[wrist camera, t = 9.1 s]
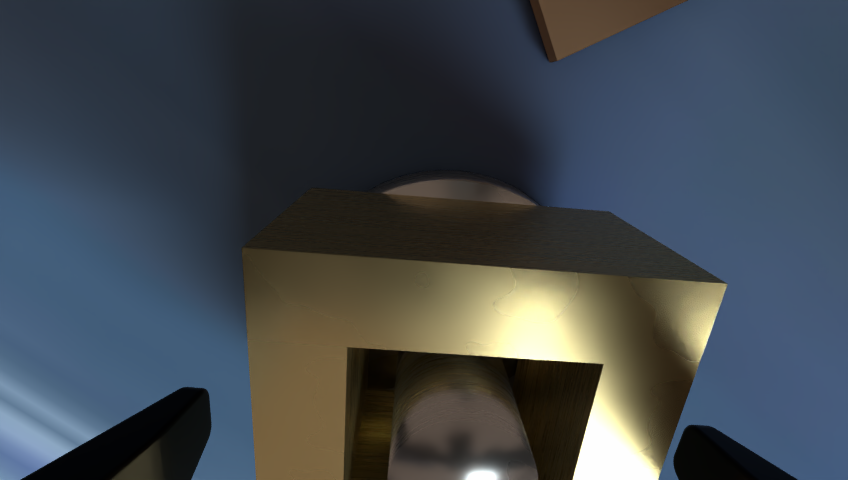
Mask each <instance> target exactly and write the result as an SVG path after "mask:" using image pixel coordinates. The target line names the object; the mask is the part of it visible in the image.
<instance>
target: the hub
mask: <svg viewBox="0 0 848 480" xmlns="http://www.w3.org/2000/svg"><path fill="white" fill-rule="evenodd" d="M367 192H372V193H385V194H397V195H410V196H422V197H435V198H447V199H460V200H472V201H484V202H497V203H509V204H522V205H534V206H540V205H539V204H538V203H536V202H535V201H534V200H533V199H532V198H531V197H529V196H528V195H526V194H524V193H523V192H521V191H520V190H518V189H517V188H515V187H513V186H511V185H509V184H507V183H505V182H502V181H500V180H498V179H495V178H492V177H489V176H485V175H482V174H478V173H472V172H467V171H461V170H432V171H422V172H417V173H412V174H408V175H404V176H400V177H397V178H395V179H392V180H389V181H387V182H384V183H382V184H380V185H378V186H376V187H374V188H372V189H371V190H369V191H367ZM517 362H518V358H505V357H490V356H475V355H460V354H444V353H429V352H414V351H399V350H383V349H369V362H368V383H367V389H383V390H395V393H394V405H393V417H392V430H391V442H390V454H389V467H388V479H387V480H538V473H537V467H536V464H535V461H534V458H533V454H532V451H531V448H530V445H529V442H528V439H527V436H526V432H525V429H524V426H523V423H522V420H521V417H520V413H519V410H518V407H517V404H516V401H515V398H514V395H513V391H512V389H513V384H514V378H515V373H516V368H517Z"/></svg>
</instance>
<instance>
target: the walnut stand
mask: <svg viewBox="0 0 848 480" xmlns="http://www.w3.org/2000/svg"><path fill="white" fill-rule="evenodd" d="M685 1H687V0H530V3H531V6H532V9H533V12H534V15H535V18H536V22H537V25H538V28H539V31H540V34H541V37H542V40H543V43H544V47H545V50H546V53H547V56H548V59H549V62H554V61H558V60H560V59H562V58H564V57H567V56H569V55H571V54H573V53H575V52H577V51H580V50H582V49H584V48H586V47H588V46H590V45H592V44H595V43H597V42H599V41H601V40H603V39H605V38H608V37H610V36H612V35H614V34H616V33H618V32H620V31H623V30H625V29H627V28H629V27H631V26H633V25H636V24H638V23H640V22H642V21H644V20H646V19H648V18H651V17H653V16H655V15H657V14H659V13H661V12H664V11H666V10H668V9H670V8H672V7H674V6H676V5H679V4H681V3H683V2H685Z"/></svg>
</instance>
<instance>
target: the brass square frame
mask: <svg viewBox="0 0 848 480" xmlns="http://www.w3.org/2000/svg"><path fill="white" fill-rule="evenodd" d="M242 259H243V275H244V291H245V307H246V323H247V339H248V355H249V371H250V387H251V403H252V419H253V435H254V451H255V467H256V480H387V479H388V467H389V454H390V442H391V430H392V417H393V405H394V393H395V390H383V389H367V383H368V362H369V349H383V350H399V351H414V352H429V353H444V354H460V355H475V356H490V357H505V358H518V362H517V368H516V373H515V378H514V384H513V389H512V391H513V395H514V398H515V401H516V404H517V407H518V410H519V413H520V417H521V420H522V423H523V426H524V429H525V432H526V436H527V439H528V442H529V445H530V448H531V451H532V454H533V458H534V461H535V464H536V467H537V473H538V480H658V477H659V475H660V472H661V469H662V466H663V463H664V461H665V458H666V455H667V452H668V449H669V447H670V444H671V441H672V438H673V435H674V433H675V430H676V427H677V424H678V421H679V419H680V416H681V413H682V410H683V407H684V405H685V402H686V399H687V396H688V393H689V391H690V388H691V385H692V382H693V379H694V377H695V374H696V371H697V368H698V365H699V362H700V360H701V357H702V354H703V351H704V348H705V346H706V343H707V340H708V337H709V334H710V332H711V329H712V326H713V323H714V320H715V318H716V315H717V312H718V309H719V306H720V304H721V301H722V298H723V295H724V292H725V290H726V287H727V283H725V282H724V281H722V280H720V279H719V278H717V277H715V276H714V275H712V274H711V273H709V272H707V271H706V270H704V269H702V268H701V267H699V266H697V265H696V264H694V263H693V262H691V261H689V260H688V259H686V258H684V257H683V256H681V255H679V254H678V253H676V252H674V251H673V250H671V249H670V248H668V247H666V246H665V245H663V244H661V243H660V242H658V241H656V240H655V239H653V238H652V237H650V236H648V235H647V234H645V233H643V232H642V231H640V230H638V229H637V228H635V227H634V226H632V225H630V224H629V223H627V222H625V221H624V220H622V219H620V218H619V217H617V216H616V215H614V214H612V213H611V212H609V211H596V210H584V209H571V208H559V207H547V206H534V205H522V204H509V203H497V202H484V201H472V200H460V199H447V198H435V197H422V196H410V195H397V194H385V193H372V192H360V191H348V190H335V189H323V188H311V189H309V190H308V191H307V192H306V193H305V194H304V195H302V196H301V197H300V198H299V199H298V200H297V201H295V202H294V203H293V204H292V205H291V206H290V207H289V208H287V209H286V210H285V211H284V212H283V213H282V214H280V215H279V216H278V217H277V218H276V219H275V220H273V221H272V222H271V223H270V224H269V225H268V226H267V227H265V228H264V229H263V230H262V231H261V232H260V233H258V234H257V235H256V236H255V237H254V238H253V239H251V240H250V241H249V242H248V243H247V244H246V245H244V246H243V247H242Z"/></svg>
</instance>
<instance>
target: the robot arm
mask: <svg viewBox="0 0 848 480" xmlns="http://www.w3.org/2000/svg"><path fill="white" fill-rule="evenodd" d="M210 432H211V412H210V400H209V393H208V391H207V390H206V389H204V388H194V387H183V388H181V389H179V390H177V391H175V392H173V393H171V394H170V395H168V396H166V397H164V398H163V399H161V400H159V401H157V402H156V403H154V404H152V405H150V406H149V407H147V408H145V409H143V410H142V411H140V412H138V413H136V414H135V415H133V416H131V417H129V418H128V419H126V420H124V421H122V422H121V423H119V424H117V425H115V426H114V427H112V428H110V429H108V430H107V431H105V432H103V433H101V434H100V435H98V436H96V437H94V438H93V439H91V440H89V441H87V442H86V443H84V444H82V445H80V446H79V447H77V448H75V449H73V450H72V451H70V452H68V453H66V454H65V455H63V456H61V457H59V458H58V459H56V460H54V461H52V462H51V463H49V464H47V465H45V466H44V467H42V468H40V469H38V470H37V471H35V472H33V473H31V474H30V475H28V476H26V477H24V478H23V479H21V480H191V479H192V476H193V474H194V472H195V469H196V467H197V465H198V462H199V460H200V458H201V455H202V453H203V451H204V448H205V446H206V443H207V441H208V439H209V436H210ZM673 462H674V469H675V472H676V474H677V477H678V479H679V480H797V479H796V478H794V477H793V476H791V475H789V474H788V473H786V472H785V471H783V470H781V469H780V468H778V467H776V466H775V465H773V464H772V463H770V462H768V461H767V460H765V459H764V458H762V457H760V456H759V455H757V454H755V453H754V452H752V451H751V450H749V449H747V448H746V447H744V446H743V445H741V444H739V443H738V442H736V441H734V440H733V439H731V438H730V437H728V436H726V435H725V434H723V433H722V432H720V431H718V430H717V429H715V428H713V427H710V426H703V425H689V426H687V427H686V428H685V429H684V431H683V434H682V437H681V439H680V442H679V444H678V447H677V450H676V452H675V455H674V461H673Z"/></svg>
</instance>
